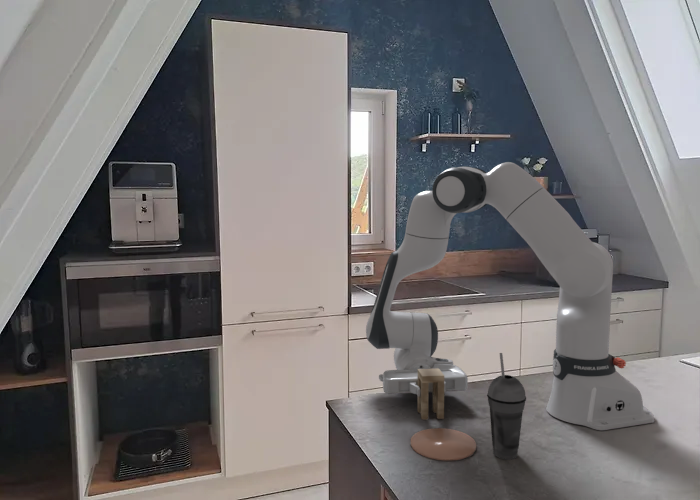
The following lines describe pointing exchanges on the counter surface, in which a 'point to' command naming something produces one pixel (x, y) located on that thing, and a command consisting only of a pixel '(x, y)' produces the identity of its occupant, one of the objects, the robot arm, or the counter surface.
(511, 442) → the beverage cup
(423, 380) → the stool
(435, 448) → the coaster
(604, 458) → the counter surface
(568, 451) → the counter surface
